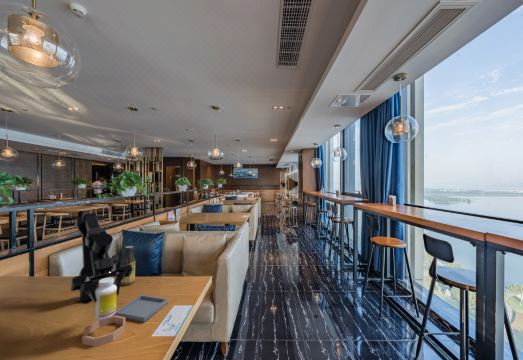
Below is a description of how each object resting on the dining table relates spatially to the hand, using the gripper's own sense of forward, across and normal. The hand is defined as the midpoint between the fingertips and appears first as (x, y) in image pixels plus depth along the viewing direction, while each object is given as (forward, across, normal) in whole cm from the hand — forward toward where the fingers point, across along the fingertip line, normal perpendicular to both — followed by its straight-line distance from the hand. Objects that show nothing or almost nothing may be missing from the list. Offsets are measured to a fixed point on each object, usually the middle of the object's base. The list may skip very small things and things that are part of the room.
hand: (106, 298), depth 81 cm
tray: (+4, +15, +15) cm, 21 cm away
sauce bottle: (-18, +18, +38) cm, 46 cm away
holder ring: (+9, 0, +10) cm, 13 cm away
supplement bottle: (+4, 0, +6) cm, 7 cm away
